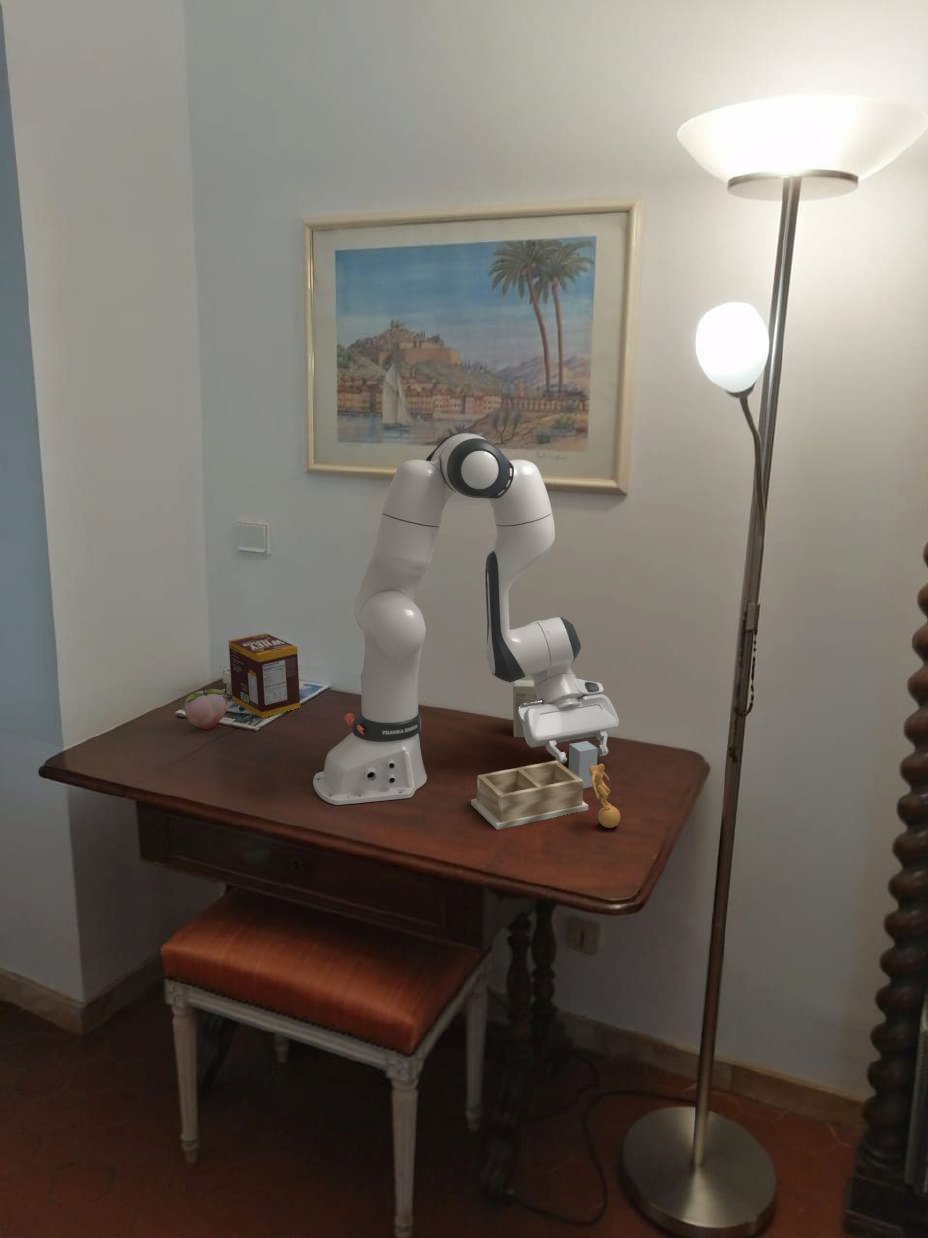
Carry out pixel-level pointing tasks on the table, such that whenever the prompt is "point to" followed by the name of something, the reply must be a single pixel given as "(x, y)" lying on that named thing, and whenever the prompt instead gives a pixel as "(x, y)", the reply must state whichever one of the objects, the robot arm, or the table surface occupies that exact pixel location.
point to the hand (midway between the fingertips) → (583, 758)
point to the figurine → (607, 813)
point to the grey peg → (582, 760)
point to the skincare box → (521, 701)
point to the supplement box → (264, 674)
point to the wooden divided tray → (528, 794)
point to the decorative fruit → (205, 708)
